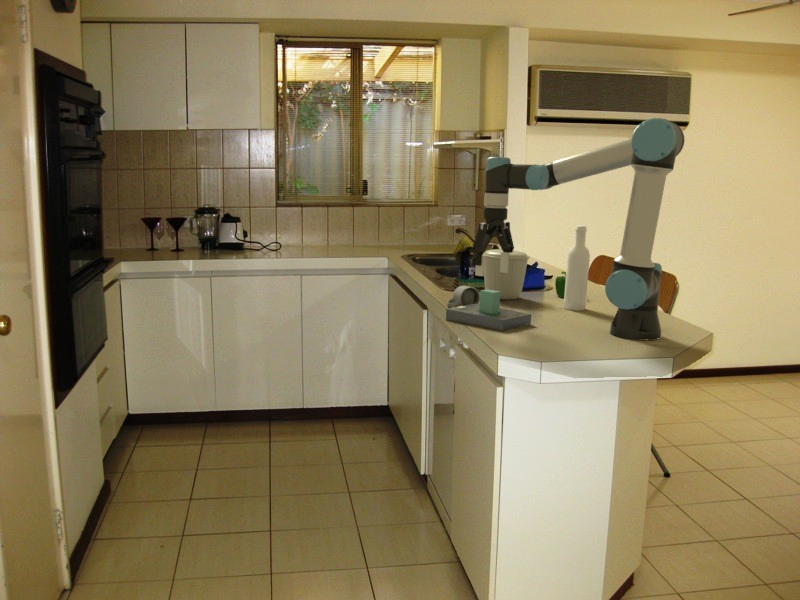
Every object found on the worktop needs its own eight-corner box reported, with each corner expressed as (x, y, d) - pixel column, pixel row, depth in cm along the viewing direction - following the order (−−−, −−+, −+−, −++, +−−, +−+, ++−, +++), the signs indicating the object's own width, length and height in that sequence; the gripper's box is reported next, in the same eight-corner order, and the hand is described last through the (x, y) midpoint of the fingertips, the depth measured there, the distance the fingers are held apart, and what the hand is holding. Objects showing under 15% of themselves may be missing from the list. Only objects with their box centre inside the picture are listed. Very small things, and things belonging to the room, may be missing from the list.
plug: (498, 319, 252) (500, 291, 251) (491, 321, 249) (493, 292, 248) (485, 317, 256) (487, 289, 254) (478, 318, 253) (480, 290, 251)
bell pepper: (579, 299, 306) (581, 273, 305) (560, 299, 304) (562, 273, 303) (570, 295, 314) (572, 270, 313) (551, 295, 312) (553, 270, 311)
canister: (527, 295, 308) (531, 242, 305) (526, 303, 291) (530, 246, 287) (480, 292, 311) (484, 239, 308) (477, 299, 294) (480, 243, 290)
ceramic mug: (469, 304, 284) (470, 283, 282) (479, 308, 276) (480, 287, 275) (442, 305, 280) (443, 284, 278) (452, 309, 272) (453, 288, 271)
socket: (530, 324, 252) (531, 311, 251) (502, 331, 240) (503, 317, 239) (474, 313, 266) (475, 301, 265) (445, 319, 254) (446, 306, 253)
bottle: (570, 311, 280) (578, 226, 274) (558, 306, 287) (565, 224, 282) (589, 310, 283) (597, 227, 277) (577, 306, 290) (584, 224, 285)
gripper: (507, 205, 258) (504, 269, 262) (462, 206, 240) (458, 275, 243) (527, 207, 253) (523, 272, 257) (482, 208, 235) (478, 278, 238)
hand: (491, 274), depth 250 cm, fingers open, 13 cm apart
